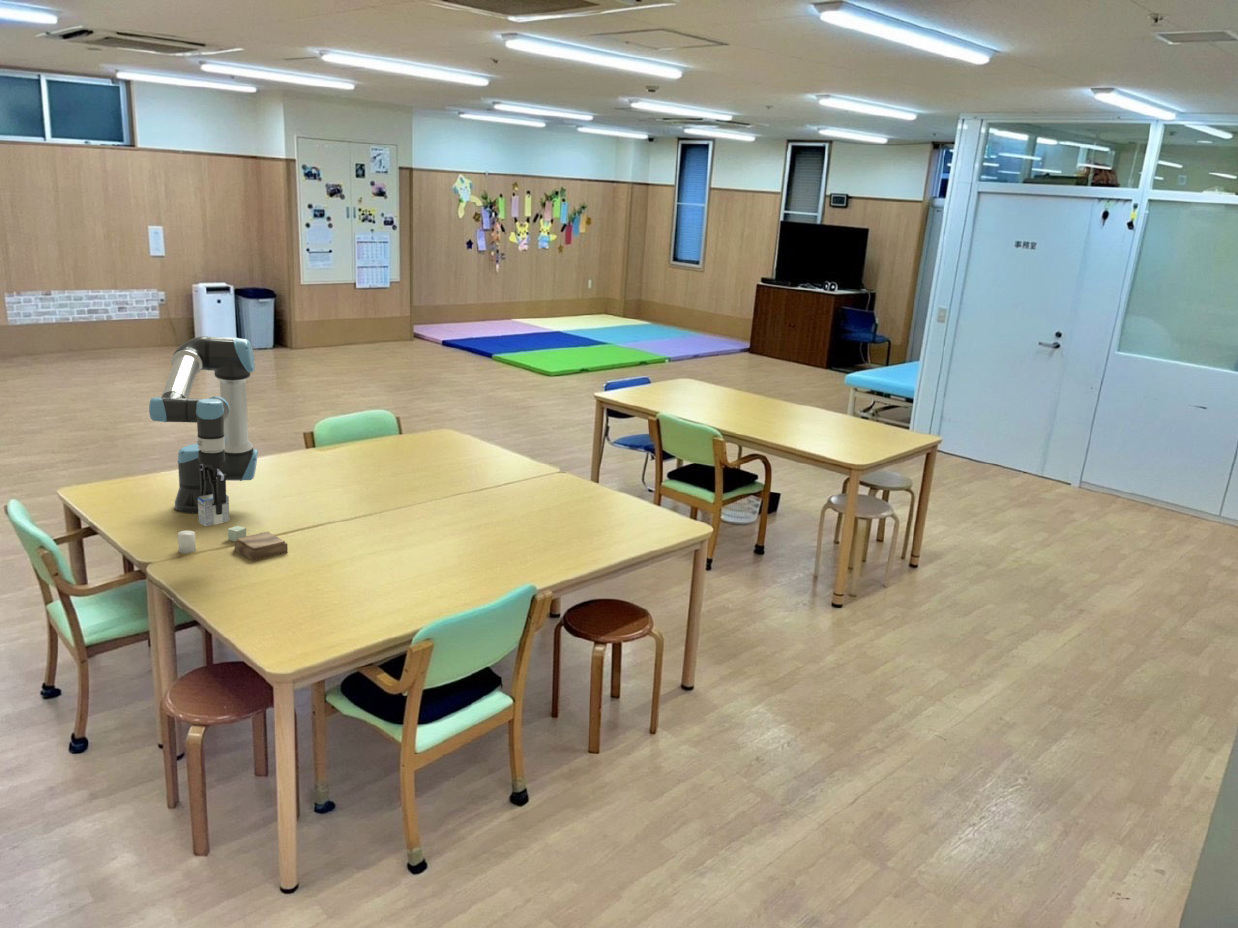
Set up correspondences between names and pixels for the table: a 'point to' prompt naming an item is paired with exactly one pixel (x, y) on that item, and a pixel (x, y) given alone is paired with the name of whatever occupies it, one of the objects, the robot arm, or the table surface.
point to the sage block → (236, 533)
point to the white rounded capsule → (186, 541)
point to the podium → (260, 546)
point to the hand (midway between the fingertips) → (214, 520)
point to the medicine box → (210, 509)
